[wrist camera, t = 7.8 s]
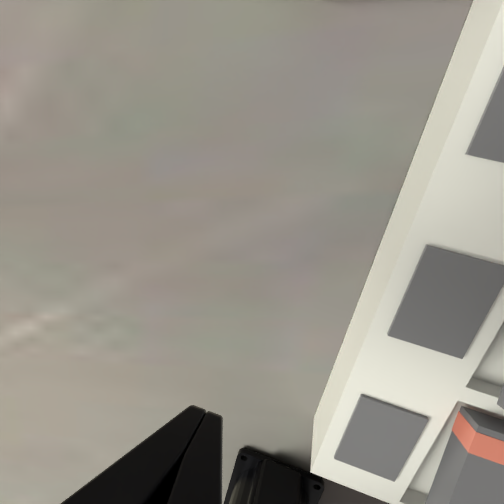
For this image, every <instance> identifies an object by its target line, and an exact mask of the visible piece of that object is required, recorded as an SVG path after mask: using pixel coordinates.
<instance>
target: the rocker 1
mask: <svg viewBox="0 0 504 504" xmlns="http://www.w3.org/2000/svg"><path fill="white" fill-rule="evenodd" d="M425 504H504V420H502V419H499V418H496V417H493V416H490V415H487V414H484V413H481V412H478V411H475V410H472V409H470V408H467V407H464V406H461V408H460V410H459V411H458V414H457V416H456V419H455V422H454V424H453V427H452V432H451V435H450V437H449V440H448V443H447V445H446V448H445V451H444V453H443V456H442V459H441V461H440V464H439V467H438V470H437V472H436V475H435V478H434V480H433V483H432V486H431V488H430V491H429V494H428V496H427V499H426V502H425Z"/></svg>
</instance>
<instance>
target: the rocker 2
mask: <svg viewBox="0 0 504 504" xmlns="http://www.w3.org/2000/svg"><path fill="white" fill-rule="evenodd" d="M497 405H499V406H500V407H501V408H502V409H504V383H503V386H502V389H501V392H500V395H499V398H498V401H497Z"/></svg>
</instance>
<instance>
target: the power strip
mask: <svg viewBox="0 0 504 504" xmlns="http://www.w3.org/2000/svg"><path fill="white" fill-rule="evenodd" d="M503 383H504V0H473V3H472V6H471V8H470V11H469V14H468V16H467V19H466V21H465V24H464V27H463V29H462V32H461V34H460V37H459V40H458V42H457V45H456V48H455V50H454V53H453V55H452V58H451V61H450V63H449V66H448V68H447V71H446V74H445V76H444V79H443V82H442V84H441V87H440V89H439V92H438V95H437V97H436V100H435V102H434V105H433V108H432V110H431V113H430V116H429V118H428V121H427V123H426V126H425V129H424V131H423V134H422V136H421V139H420V142H419V144H418V147H417V150H416V152H415V155H414V157H413V160H412V163H411V165H410V168H409V170H408V173H407V176H406V178H405V181H404V184H403V186H402V189H401V191H400V194H399V197H398V199H397V202H396V204H395V207H394V210H393V212H392V215H391V218H390V220H389V223H388V225H387V228H386V231H385V233H384V236H383V238H382V241H381V244H380V246H379V249H378V252H377V254H376V257H375V259H374V262H373V265H372V267H371V270H370V272H369V275H368V278H367V280H366V283H365V286H364V288H363V291H362V293H361V296H360V299H359V301H358V304H357V306H356V309H355V312H354V314H353V317H352V320H351V322H350V325H349V327H348V330H347V333H346V335H345V338H344V340H343V343H342V346H341V348H340V351H339V354H338V356H337V359H336V361H335V364H334V367H333V369H332V372H331V374H330V377H329V380H328V382H327V385H326V388H325V390H324V393H323V395H322V398H321V401H320V403H319V406H318V408H317V411H316V414H315V416H314V425H313V440H312V454H311V468H310V472H311V473H313V474H316V475H318V476H321V477H323V478H326V479H328V480H331V481H333V482H336V483H339V484H341V485H344V486H346V487H349V488H351V489H354V490H356V491H359V492H362V493H364V494H367V495H369V496H372V497H374V498H377V499H379V500H382V501H384V502H387V503H390V504H425V502H426V499H427V496H428V494H429V491H430V488H431V486H432V483H433V480H434V478H435V475H436V472H437V470H438V467H439V464H440V461H441V459H442V456H443V453H444V451H445V448H446V445H447V443H448V440H449V437H450V435H451V432H452V427H453V424H454V422H455V419H456V416H457V414H458V411H459V410H460V408H461V406H464V407H467V408H470V409H472V410H475V411H478V412H481V413H484V414H487V415H490V416H493V417H496V418H499V419H502V420H504V409H502V408H501V407H500V406H499V405H497V401H498V398H499V395H500V392H501V389H502V386H503Z"/></svg>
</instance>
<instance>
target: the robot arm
mask: <svg viewBox="0 0 504 504" xmlns="http://www.w3.org/2000/svg"><path fill="white" fill-rule="evenodd" d="M222 432H223V418H222V416H221V415H218V414H216V413H213V412H210V411H208V412H207V413H206V410H205V409H202V408H200V407H197V406H194V405H191V406H189V407H188V408H186V409H185V410H184V411H182V412H181V413H180V414H178V415H177V416H176V417H174V418H173V419H172V420H170V421H169V422H168V423H167V424H165V425H164V426H163V427H161V428H160V429H159V430H157V431H156V432H155V433H153V434H152V435H151V436H149V437H148V438H147V439H145V440H144V441H143V442H141V443H140V444H139V445H137V446H136V447H135V448H133V449H132V450H131V451H129V452H128V453H127V454H126V455H124V456H123V457H122V458H120V459H119V460H118V461H116V462H115V463H114V464H112V465H111V466H110V467H108V468H107V469H106V470H104V471H103V472H102V473H100V474H99V475H98V476H96V477H95V478H94V479H92V480H91V481H90V482H88V483H87V484H86V485H85V486H83V487H82V488H81V489H79V490H78V491H77V492H75V493H74V494H73V495H71V496H70V497H69V498H67V499H66V500H65V501H63V502H62V503H61V504H222ZM323 490H324V481H323V479H322V478H320V477H318V476H315V475H312V474H310V473H307V472H305V471H302V470H300V469H297V468H295V467H292V466H290V465H287V464H284V463H282V462H279V461H277V460H274V459H272V458H269V457H267V456H264V455H262V454H259V453H256V452H254V451H251V450H249V449H246V448H241V449H240V450H239V452H238V455H237V459H236V462H235V466H234V469H233V473H232V476H231V480H230V483H229V487H228V490H227V494H226V497H225V501H224V504H318V502H319V499H320V497H321V495H322V493H323Z"/></svg>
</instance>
